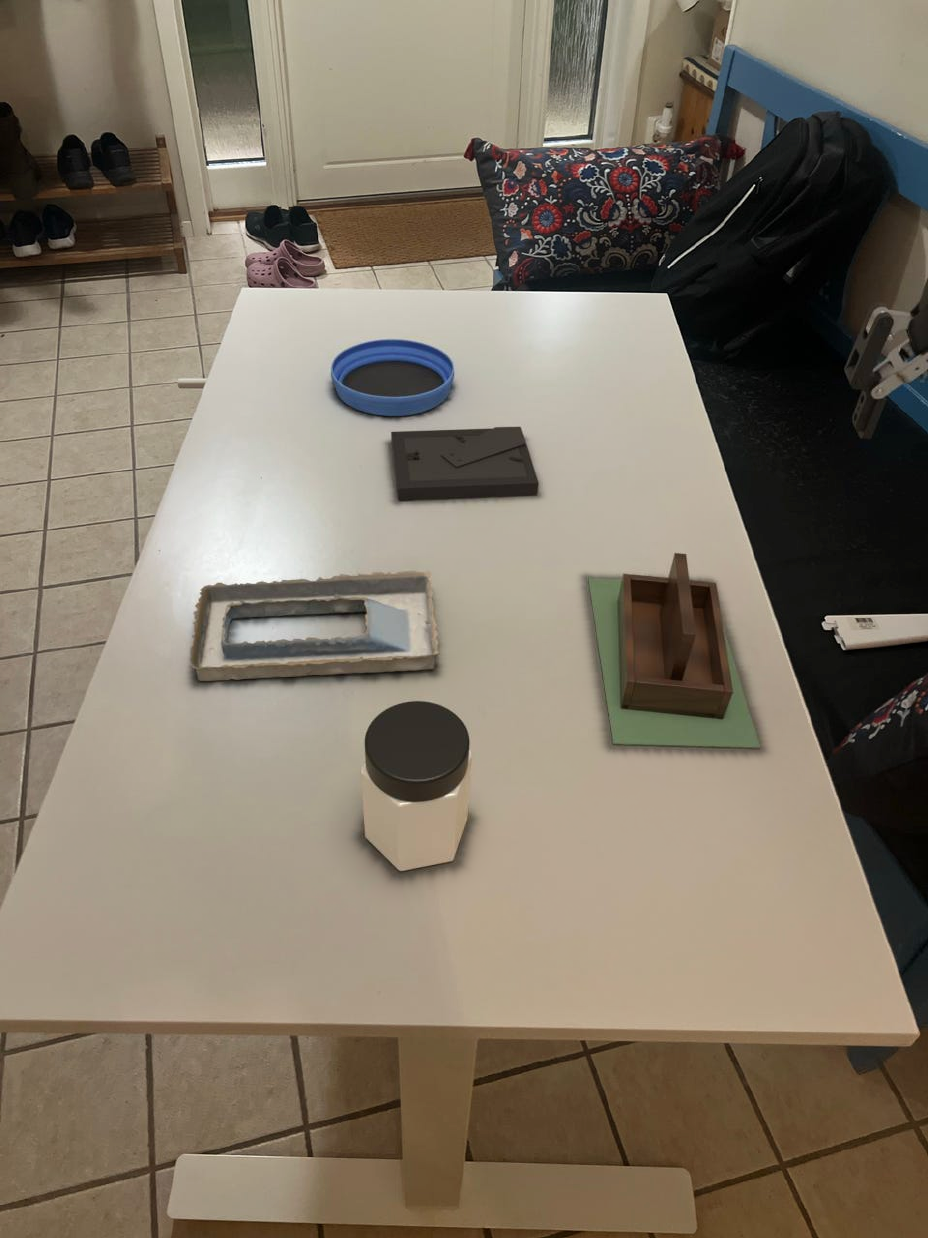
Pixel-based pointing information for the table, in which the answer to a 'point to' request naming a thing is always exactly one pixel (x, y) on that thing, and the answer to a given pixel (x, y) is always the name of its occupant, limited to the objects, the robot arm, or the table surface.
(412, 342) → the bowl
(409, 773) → the jar
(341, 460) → the table surface
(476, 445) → the picture frame
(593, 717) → the table surface
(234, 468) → the table surface
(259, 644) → the picture frame
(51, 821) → the table surface
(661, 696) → the cutlery caddy
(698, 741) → the mat
